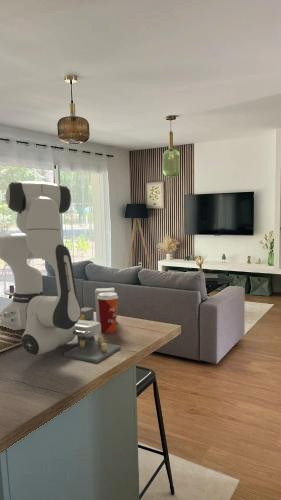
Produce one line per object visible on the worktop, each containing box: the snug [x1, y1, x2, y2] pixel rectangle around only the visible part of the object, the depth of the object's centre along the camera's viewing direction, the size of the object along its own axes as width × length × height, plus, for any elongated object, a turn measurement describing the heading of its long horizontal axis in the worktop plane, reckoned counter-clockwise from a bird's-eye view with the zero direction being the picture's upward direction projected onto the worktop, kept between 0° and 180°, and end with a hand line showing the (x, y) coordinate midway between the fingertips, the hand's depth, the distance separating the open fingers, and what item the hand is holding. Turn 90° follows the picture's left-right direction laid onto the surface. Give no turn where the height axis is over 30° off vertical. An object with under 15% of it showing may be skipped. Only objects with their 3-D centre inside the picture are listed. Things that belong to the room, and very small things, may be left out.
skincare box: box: [94, 287, 118, 322], centre depth 157 cm, size 8×6×15 cm
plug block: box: [77, 306, 95, 342], centre depth 137 cm, size 4×6×11 cm
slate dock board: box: [63, 336, 121, 364], centre depth 123 cm, size 13×14×4 cm
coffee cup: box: [97, 292, 119, 334], centre depth 145 cm, size 8×8×15 cm
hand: (86, 320), depth 138 cm, fingers closed on plug block, 4 cm apart
